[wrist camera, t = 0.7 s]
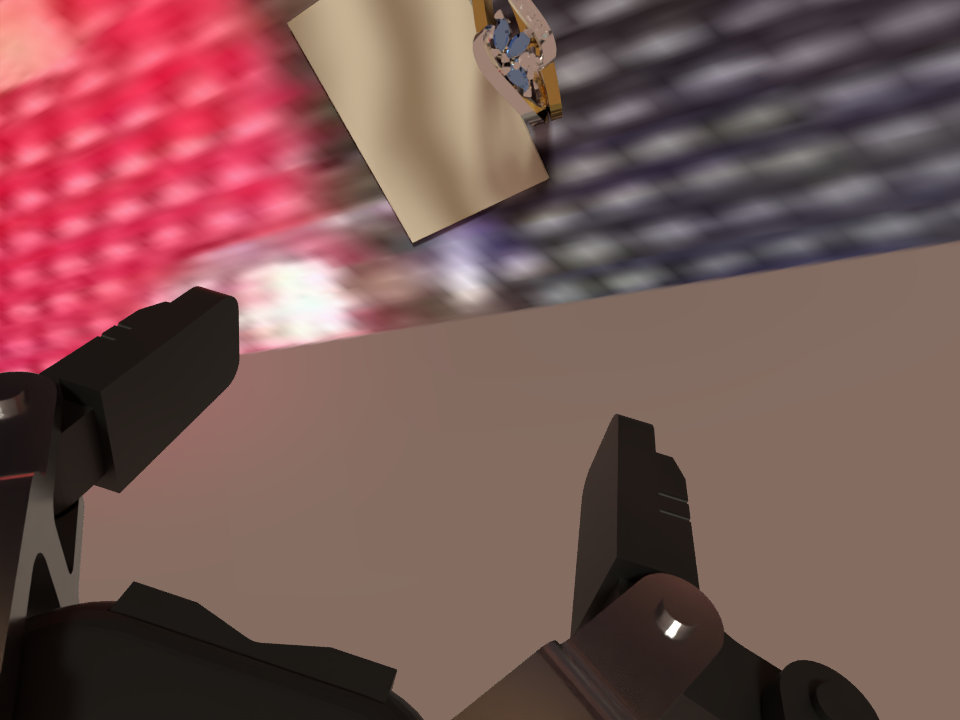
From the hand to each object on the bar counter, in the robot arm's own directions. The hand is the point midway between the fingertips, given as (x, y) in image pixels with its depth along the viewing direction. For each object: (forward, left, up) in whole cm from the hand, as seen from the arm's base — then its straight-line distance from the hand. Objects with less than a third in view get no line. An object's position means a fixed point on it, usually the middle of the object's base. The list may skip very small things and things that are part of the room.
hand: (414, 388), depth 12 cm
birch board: (+4, -5, -24) cm, 24 cm away
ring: (-2, -5, -24) cm, 24 cm away
